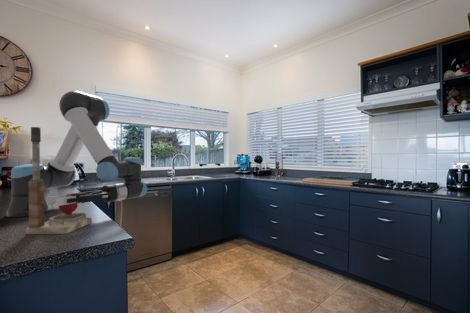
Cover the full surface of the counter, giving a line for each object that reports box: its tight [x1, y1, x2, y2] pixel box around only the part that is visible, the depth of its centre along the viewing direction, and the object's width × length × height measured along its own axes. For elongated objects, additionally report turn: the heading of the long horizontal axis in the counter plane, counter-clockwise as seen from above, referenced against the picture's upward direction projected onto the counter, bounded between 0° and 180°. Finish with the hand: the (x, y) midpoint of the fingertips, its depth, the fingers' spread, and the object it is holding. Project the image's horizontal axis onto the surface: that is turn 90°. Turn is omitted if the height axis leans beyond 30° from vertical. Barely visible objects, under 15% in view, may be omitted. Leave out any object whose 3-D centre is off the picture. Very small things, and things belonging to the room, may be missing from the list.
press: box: [25, 126, 92, 235], centre depth 90 cm, size 14×14×37 cm
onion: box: [58, 193, 79, 215], centre depth 91 cm, size 6×6×8 cm
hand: (52, 201), depth 87 cm, fingers closed on onion, 5 cm apart
